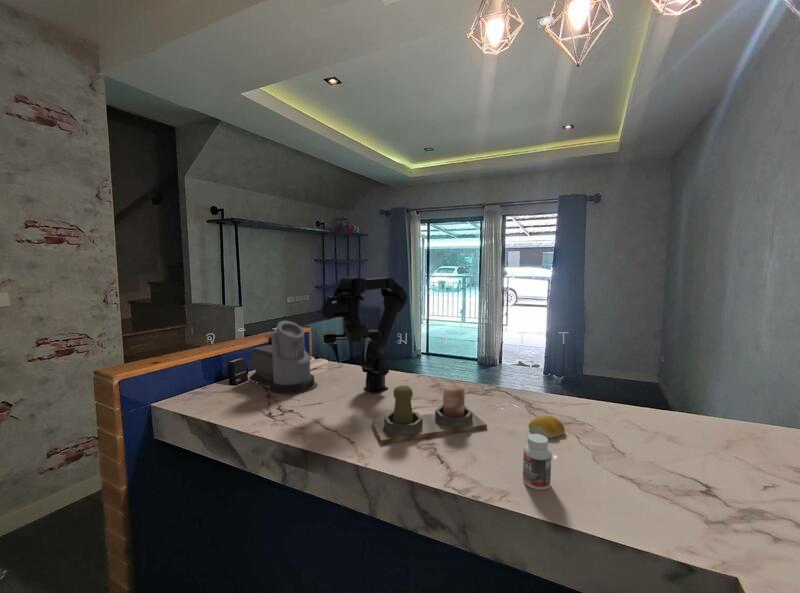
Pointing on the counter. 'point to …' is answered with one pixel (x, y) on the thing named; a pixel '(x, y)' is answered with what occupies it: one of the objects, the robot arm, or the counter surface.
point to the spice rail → (432, 420)
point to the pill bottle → (537, 462)
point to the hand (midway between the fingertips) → (352, 361)
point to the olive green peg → (403, 405)
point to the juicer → (284, 362)
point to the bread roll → (546, 426)
